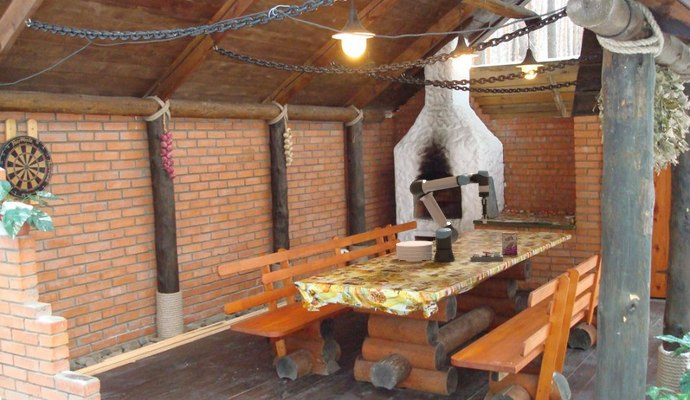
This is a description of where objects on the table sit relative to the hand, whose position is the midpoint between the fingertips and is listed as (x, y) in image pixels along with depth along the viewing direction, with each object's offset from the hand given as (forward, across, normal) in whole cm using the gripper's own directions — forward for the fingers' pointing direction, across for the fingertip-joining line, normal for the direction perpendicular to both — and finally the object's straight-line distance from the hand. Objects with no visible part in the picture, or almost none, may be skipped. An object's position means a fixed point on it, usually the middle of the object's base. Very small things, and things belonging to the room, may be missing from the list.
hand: (484, 223), depth 496 cm
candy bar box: (+26, +21, -18) cm, 38 cm away
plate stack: (+27, +6, +53) cm, 60 cm away
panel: (+26, -6, -1) cm, 27 cm away
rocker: (+21, -6, -1) cm, 22 cm away
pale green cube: (+24, -6, -8) cm, 26 cm away
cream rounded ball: (+25, -7, +7) cm, 27 cm away
